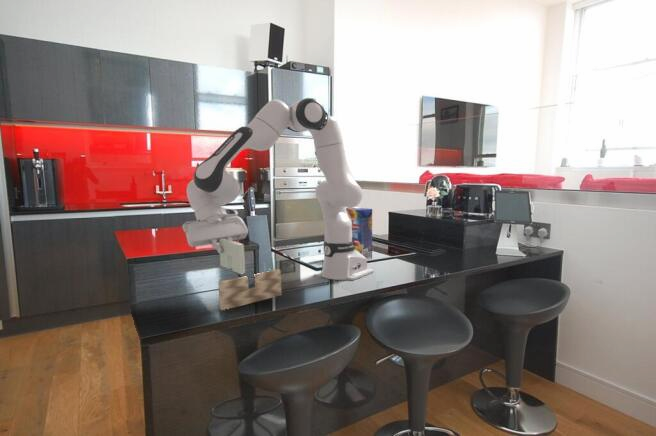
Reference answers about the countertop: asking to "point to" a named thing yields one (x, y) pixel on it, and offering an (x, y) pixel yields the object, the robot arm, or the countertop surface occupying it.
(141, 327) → the countertop surface
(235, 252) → the sage plate
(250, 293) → the brown zigzag slotted board
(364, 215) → the juice carton
